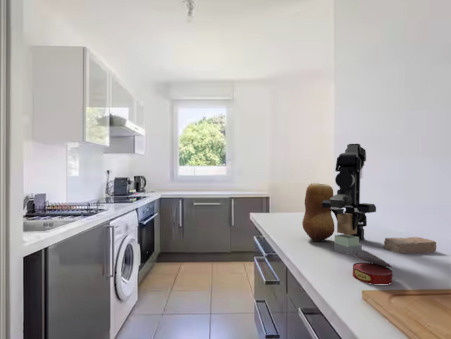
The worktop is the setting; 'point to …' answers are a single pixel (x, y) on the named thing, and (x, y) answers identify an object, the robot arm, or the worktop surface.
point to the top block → (347, 240)
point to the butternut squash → (318, 212)
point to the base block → (346, 248)
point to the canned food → (371, 268)
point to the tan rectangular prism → (345, 224)
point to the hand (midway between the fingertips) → (347, 228)
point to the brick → (410, 245)
